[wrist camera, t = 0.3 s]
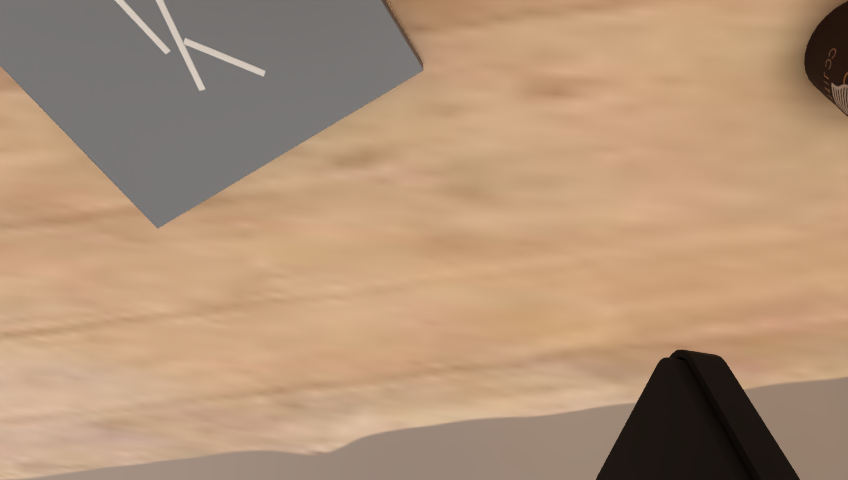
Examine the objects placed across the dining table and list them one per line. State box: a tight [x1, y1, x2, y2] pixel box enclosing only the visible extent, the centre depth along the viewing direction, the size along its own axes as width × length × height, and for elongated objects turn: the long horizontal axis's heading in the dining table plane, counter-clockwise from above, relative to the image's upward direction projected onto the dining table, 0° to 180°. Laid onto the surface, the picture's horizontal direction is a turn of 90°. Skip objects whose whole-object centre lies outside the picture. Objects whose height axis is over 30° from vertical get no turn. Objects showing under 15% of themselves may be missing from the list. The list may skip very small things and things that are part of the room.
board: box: [0, 0, 423, 228], centre depth 38 cm, size 22×22×2 cm
